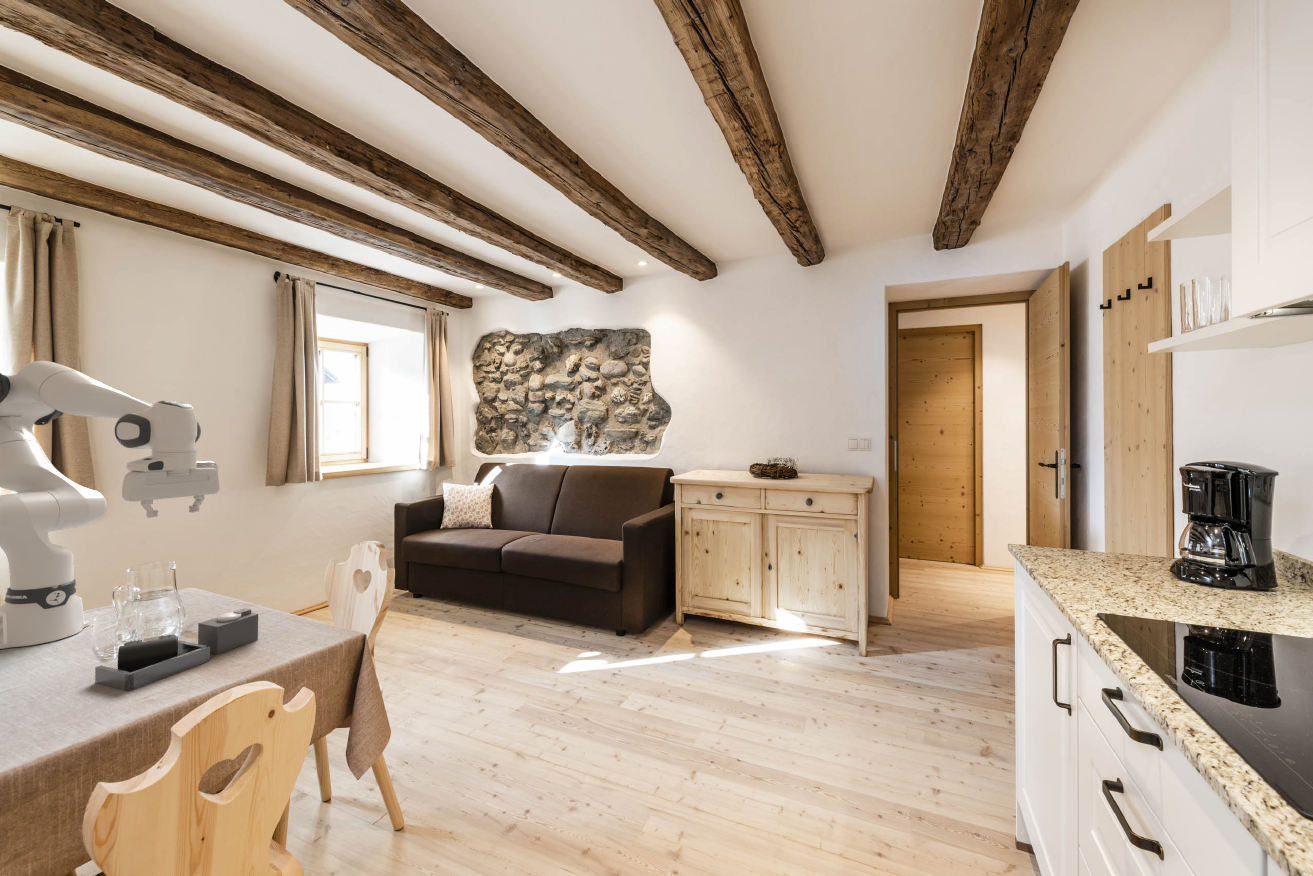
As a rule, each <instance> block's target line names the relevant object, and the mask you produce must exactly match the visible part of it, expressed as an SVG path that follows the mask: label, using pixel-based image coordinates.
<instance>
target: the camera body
mask: <svg viewBox="0 0 1313 876" xmlns="http://www.w3.org/2000/svg"><path fill="white" fill-rule="evenodd" d="M197 623H198V622H197ZM197 625H198V627H197V628H198V629H197V631H198V632H197V633H198V634H197V635H198V637H197V640H198V642H197V644H200V645H205V646H210V654H213V655H220V654H223V653H225V652H228V651H230V650H234V649H236V648H239V647H241V646H244V645H247V644H250V643H253V642H256V641H257V640H258V639H259V613H254V612H252V609H251V608H246V607H244V608H242V609H239V610H235V611H232V612H227V613H222V614H220V615H217V617H215V618H211V619H209V620H205V621H204V620H203V621H202V622H201V621H200V622H199V623H198V624H197Z"/></svg>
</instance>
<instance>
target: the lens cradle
mask: <svg viewBox="0 0 1313 876" xmlns="http://www.w3.org/2000/svg"><path fill="white" fill-rule="evenodd" d="M209 661H211V653H210V646H205V645H200V644H198V643H195V642H189V641H185V640H181V639H178V656H177V657H174V658H171V659H168V660H165V661H162V662H159V663H157V664H154V665H151V666H148V667H145V668H142V669H139V670H136V671H134V672H127V671H123V670H118V668H113V667H111V666H105V665H98V666H95V667H94V668H95V670H94V673H95V674H94V683H95V684H99V685H102V686H105V687H110V688H114V689H118V690H122V691H126V692H130V691H132V690H135V689H137V688H140V687H143V686H145V685H149V684H151V683H153V682H156V681H159V680H162V679H164V678H167V677H169V676H174V675H175V674H178V673H181V672H184V671H186V670H188V669H191V668H194V667H197V666H199V665H201V664H204V663H207V662H209Z"/></svg>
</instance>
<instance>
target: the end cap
mask: <svg viewBox="0 0 1313 876" xmlns="http://www.w3.org/2000/svg"><path fill="white" fill-rule="evenodd" d="M178 640H179V636H178V635H176V634H168V635H167V634H166V635H161V636H159V637H158V639H154V640H147V641H143V639H137V640H134V641H131V640H130V641H128V642H125V643H124V645H120V646H119V647H118V651H117V653H118V654H117V669H118V670H123V671H127V672H134V671H136V670H139V669H142V668H145V667H148V666H151V665H154V664H157V663H159V662H162V661H165V660H168V659H171V658H174V657H177V656H178Z"/></svg>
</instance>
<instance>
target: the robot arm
mask: <svg viewBox="0 0 1313 876" xmlns="http://www.w3.org/2000/svg"><path fill="white" fill-rule="evenodd" d="M63 414H67V415H68V414H69V415H72V416H78V417H90V418H93V417H94V418H107V419H108V418H111V419H118V420H117V421H116V423H115V426H114V437H115V439H116V441H118V443H119V444H120V445H121V446H123V447H125V448H127V449H132V450H148V449H149V450H151V455H149V456H146V457H143V458H138V459H136V460H131V461H129V462H127V463H126V470H127V471H129V472H127V473H126V474H125V475H124V477H123V481H122V487H121V488H122V489H121V496H122V499H124V500H125V501H126V502H140V504H141V506H142V507H143V509H144V511H145V512H146V518H149V519H152V518H158V516H159V511H158V509H154V508H153V506H152V505H153V504H154V500H164V499H165V500H166V499H176V498H185V497H193V500H194V502H193V503H192V505H189V506H188V512H189V513H198V512H200V506H201V505H202V504H203V502H204V500H205V496H207V495H215V494H217V493H218V492H220V478H219V465H217V464H216V463H215V462H214V461H211V460H207V461H198V458H197V457H198V450H197V449H198V448H197V447H196V443H198V441H199V439H200V437H201V434H202V429H201V426H200V424H199V422H198V419H197V413H196V410H195V407H194V406H193V405H191V404H188V403H186V402H182V401H173V400H159V401H156V402H155V403H150V402H147V401H145V400H143V399H140V398H138V397H136V396H132V395H130V394H127V393H125V392H123V391H121V390H118V389H117V388H114V387H112V386H109V385H107V384H104V383H103V382H101V381H98V380H96V379H94V378H92V377H91V376H88V375H87V374H85V373H83V372H80V371H78V370H76V369H74V368H71V367H69V366H66V365H64V364H61V363H57V362H53V361H48V360H36V361H31V362H29V363H26V364H25V365H23V366H22V367H21V368H20V369H19V371H18V372H17V374H14V375H6V374H3V373H1V372H0V488H1V489H4V490H5V489H6V490H9V491H12V492H15V493H6V494H2V495H0V548H1V550H2V551H3V552H4V554H5V555H6V558H7V562H8V569H9V587H7V588H6V592H5V596H4V597H5V599H4V603H3V604H2V605H1V606H0V650H1V649H8V648H18V647H19V648H20V647H27V646H34V645H39V644H40V645H41V644H45V643H46V644H47V643H50V642H54V641H58V640H61V639H65V638H69V637H70V636H73V635H76V634H78V633H80V632H81V631H82V630H83V629H85V628H86V627H88V626H90V625H91V622H90V620H87V619H86V620H85V617H84V608H83V607H84V606H83V598H82V597H80V596H79V595H76V592H77V586H78V585H77V581H76V579H75V578H74V572H75V571H74V568H75V567H74V566H75V564H74V561H75V560H74V559H75V557H74V556H75V555H74V553H73V551H72V550H71V549H69V548H67V547H66V546H62V545H59V544H54V543H52V542H51V541H50V538H49V532H55V531H56V532H57V531H63V530H70V529H76V528H80V527H84V526H88V525H90V524H95V523H96V522H99V521H100V520H102V518H103V517H104V516H105V514H106V512H107V508H108V503H107V500H106V498H105V496H104V495H103V494H102V493H101V492H100V491H98V490H95V489H91V488H89V487H86V486H83V485H81V484H79V483H77V482H75V481H73V480H72V479H70V478H68V477H67V476H66V475H64V474H63V473H62V472H60V471H59V470H58V469H57V468H56V467H55V466H54V465H53V464H52V462H51V461H50V459H49V458H48V456H47V454H46V452H45V451H44V449H43V448H42V446H41V444H40V442H39V440H38V438H37V437H36V436H35V434H34V431H33V427H34V425H36V426H44V425H45V426H46V425H47V424H49V423H50V422H51V421H53V420H56V419H58V418H59V417H61V416H62V415H63Z"/></svg>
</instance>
